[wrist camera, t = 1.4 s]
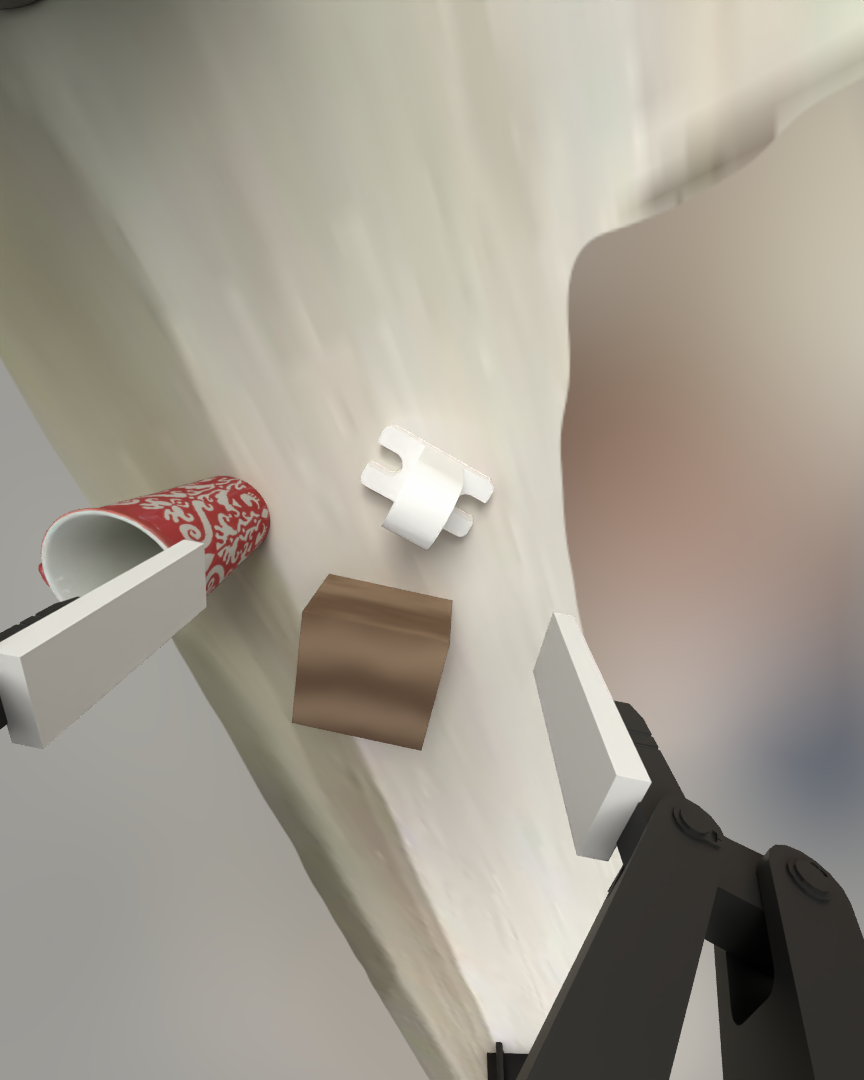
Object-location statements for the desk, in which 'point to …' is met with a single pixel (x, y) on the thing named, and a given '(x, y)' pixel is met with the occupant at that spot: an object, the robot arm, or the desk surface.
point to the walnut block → (371, 661)
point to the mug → (154, 534)
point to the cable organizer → (424, 488)
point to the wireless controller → (504, 1064)
